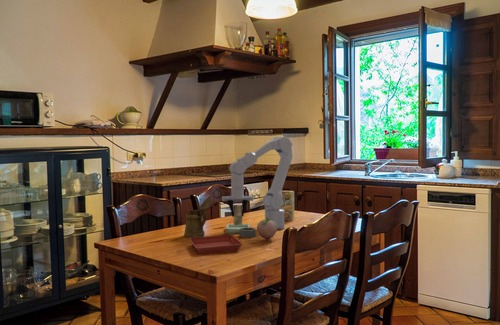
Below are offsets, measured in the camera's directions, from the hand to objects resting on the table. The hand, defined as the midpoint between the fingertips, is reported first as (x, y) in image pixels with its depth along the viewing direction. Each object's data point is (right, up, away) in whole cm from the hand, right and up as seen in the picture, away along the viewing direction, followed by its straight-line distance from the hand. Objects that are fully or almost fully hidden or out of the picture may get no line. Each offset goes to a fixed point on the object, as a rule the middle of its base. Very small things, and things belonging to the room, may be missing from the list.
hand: (237, 216), depth 213 cm
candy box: (+24, -5, +27) cm, 37 cm away
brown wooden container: (-17, -8, -10) cm, 22 cm away
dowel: (0, -4, 0) cm, 4 cm away
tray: (0, -7, 0) cm, 7 cm away
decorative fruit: (+13, -8, -20) cm, 25 cm away
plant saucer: (-8, -9, -32) cm, 34 cm away
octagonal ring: (+5, -7, -11) cm, 14 cm away
